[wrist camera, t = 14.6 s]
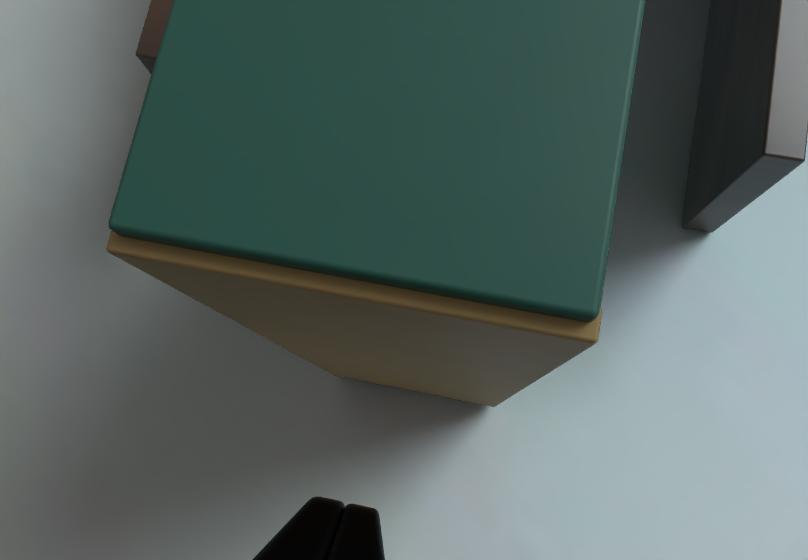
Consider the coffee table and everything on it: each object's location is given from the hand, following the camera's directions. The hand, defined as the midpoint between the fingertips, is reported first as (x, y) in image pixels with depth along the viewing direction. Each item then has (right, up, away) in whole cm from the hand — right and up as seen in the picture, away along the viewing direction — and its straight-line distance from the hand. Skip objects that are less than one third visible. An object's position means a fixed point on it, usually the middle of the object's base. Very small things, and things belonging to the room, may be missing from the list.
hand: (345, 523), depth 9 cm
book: (+2, +5, +10) cm, 11 cm away
